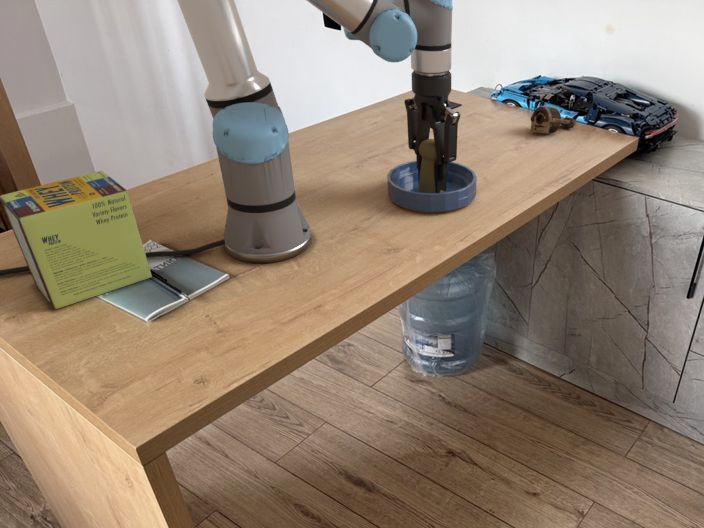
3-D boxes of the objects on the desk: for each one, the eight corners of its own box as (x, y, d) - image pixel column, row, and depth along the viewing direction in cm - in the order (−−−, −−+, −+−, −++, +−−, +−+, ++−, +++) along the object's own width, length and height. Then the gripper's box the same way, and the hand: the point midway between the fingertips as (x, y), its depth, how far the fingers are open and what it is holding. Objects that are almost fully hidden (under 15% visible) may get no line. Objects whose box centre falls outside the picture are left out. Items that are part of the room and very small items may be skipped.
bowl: (429, 224, 131) (429, 202, 128) (370, 195, 141) (369, 174, 138) (493, 197, 141) (494, 177, 139) (433, 172, 151) (433, 153, 149)
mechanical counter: (522, 105, 175) (536, 108, 166) (568, 98, 177) (584, 100, 168) (525, 134, 178) (539, 138, 169) (569, 126, 180) (585, 130, 172)
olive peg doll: (428, 184, 144) (427, 133, 137) (452, 191, 141) (452, 139, 135) (412, 194, 140) (410, 142, 133) (436, 201, 137) (436, 148, 131)
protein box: (154, 277, 112) (128, 189, 103) (55, 310, 103) (17, 218, 94) (128, 254, 118) (102, 169, 109) (33, 284, 109) (-4, 194, 100)
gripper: (478, 76, 123) (474, 196, 137) (415, 58, 133) (417, 172, 147) (449, 84, 119) (448, 207, 133) (386, 65, 129) (391, 181, 143)
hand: (432, 188), depth 140 cm, fingers open, 4 cm apart
